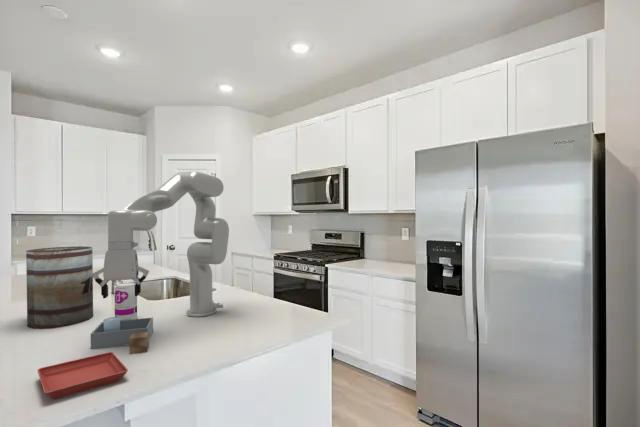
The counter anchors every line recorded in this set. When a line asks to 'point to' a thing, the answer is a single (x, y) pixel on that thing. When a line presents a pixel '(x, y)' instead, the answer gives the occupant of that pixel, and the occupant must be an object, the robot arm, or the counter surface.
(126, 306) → the supplement can
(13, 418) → the counter surface
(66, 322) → the barrel
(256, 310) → the counter surface
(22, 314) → the counter surface
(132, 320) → the tote
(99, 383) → the plant saucer
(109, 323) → the blue cylinder
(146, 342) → the walnut cube
